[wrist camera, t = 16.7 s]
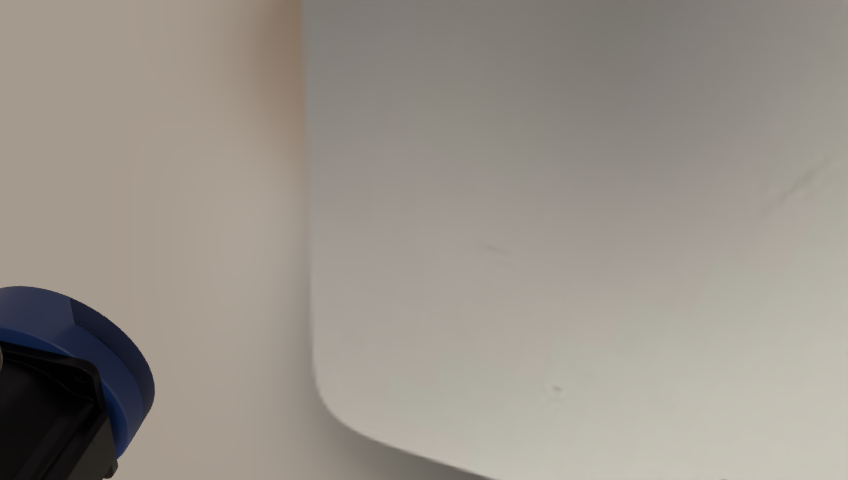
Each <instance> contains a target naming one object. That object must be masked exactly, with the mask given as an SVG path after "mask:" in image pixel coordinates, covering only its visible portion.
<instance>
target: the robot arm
mask: <svg viewBox="0 0 848 480" xmlns="http://www.w3.org/2000/svg"><path fill="white" fill-rule="evenodd" d="M116 456H117V454H116V449H115V444H114V439H113V434H112V429H111V424H110V419H109V416H108V413H107V408H106V403H105V398H104V393H103V388H102V383H101V378H100V373H99V370H98V368H97V367H96V366H95V365H94V364H92V363H91V362H89V361H86V360H83V359H79V358H74V357H70V356H66V355H61V354H57V353H53V352H48V351H44V350H39V349H35V348H31V347H26V346H22V345H18V344H13V343H9V342H4V341H0V480H102V479H103V478H106V479H108V478H111V477H112V476H113V475H114V473H115V472H116V470H117V468H118V463H117V458H116Z"/></svg>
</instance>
